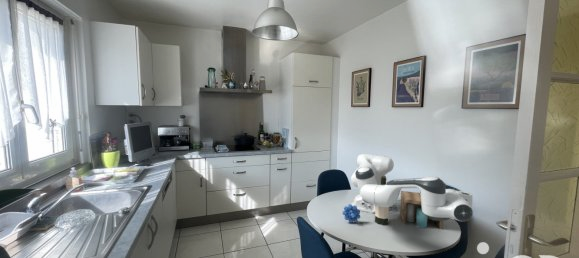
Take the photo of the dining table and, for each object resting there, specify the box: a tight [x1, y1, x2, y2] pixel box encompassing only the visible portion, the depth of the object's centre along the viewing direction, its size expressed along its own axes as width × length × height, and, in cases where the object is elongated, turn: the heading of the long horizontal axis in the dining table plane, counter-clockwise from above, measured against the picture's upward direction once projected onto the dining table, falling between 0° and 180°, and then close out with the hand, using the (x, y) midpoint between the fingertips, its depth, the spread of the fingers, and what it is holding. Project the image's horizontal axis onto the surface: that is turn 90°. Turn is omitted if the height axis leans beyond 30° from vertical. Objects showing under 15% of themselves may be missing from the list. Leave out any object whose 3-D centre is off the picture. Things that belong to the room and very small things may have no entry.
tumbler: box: [415, 207, 428, 229], centre depth 144 cm, size 6×6×11 cm
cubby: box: [399, 190, 444, 230], centre depth 147 cm, size 22×16×17 cm
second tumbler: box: [405, 203, 416, 223], centre depth 152 cm, size 6×6×11 cm
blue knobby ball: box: [342, 203, 361, 224], centre depth 146 cm, size 12×7×12 cm, turn 95°
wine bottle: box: [374, 175, 390, 226], centre depth 148 cm, size 8×8×30 cm
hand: (441, 189), depth 123 cm, fingers open, 8 cm apart
